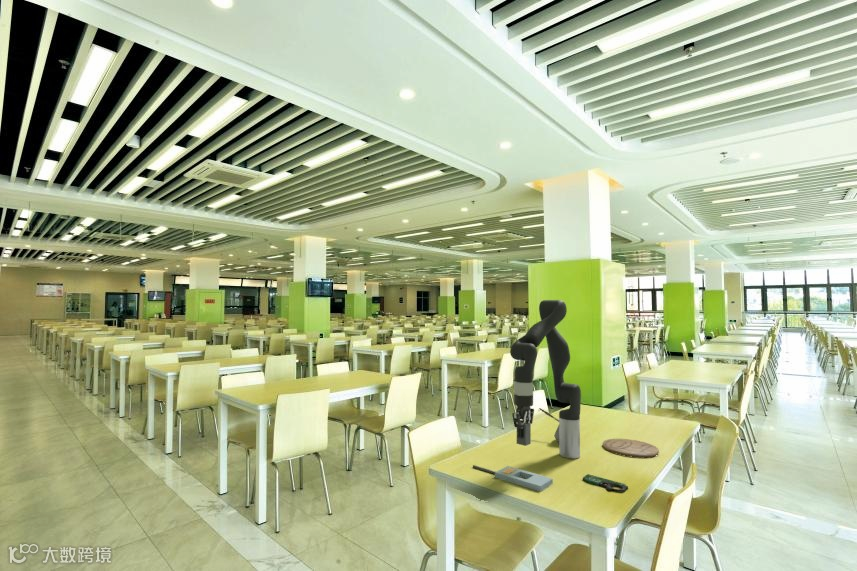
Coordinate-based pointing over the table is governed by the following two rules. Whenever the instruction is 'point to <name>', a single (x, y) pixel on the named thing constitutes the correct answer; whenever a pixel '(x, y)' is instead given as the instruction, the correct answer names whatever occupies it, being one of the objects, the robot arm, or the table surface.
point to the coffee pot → (558, 425)
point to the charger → (525, 435)
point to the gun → (605, 483)
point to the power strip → (513, 476)
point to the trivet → (630, 448)
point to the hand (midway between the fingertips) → (523, 436)
